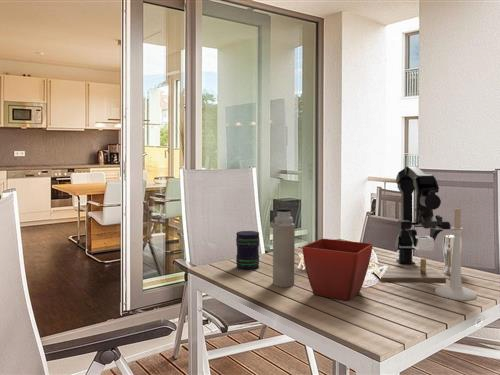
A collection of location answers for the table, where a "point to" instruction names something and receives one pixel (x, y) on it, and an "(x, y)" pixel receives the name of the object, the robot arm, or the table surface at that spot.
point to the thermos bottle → (283, 249)
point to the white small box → (424, 243)
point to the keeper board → (412, 275)
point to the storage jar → (247, 250)
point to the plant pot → (336, 267)
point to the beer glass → (449, 252)
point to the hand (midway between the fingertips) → (422, 246)
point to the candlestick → (456, 268)
